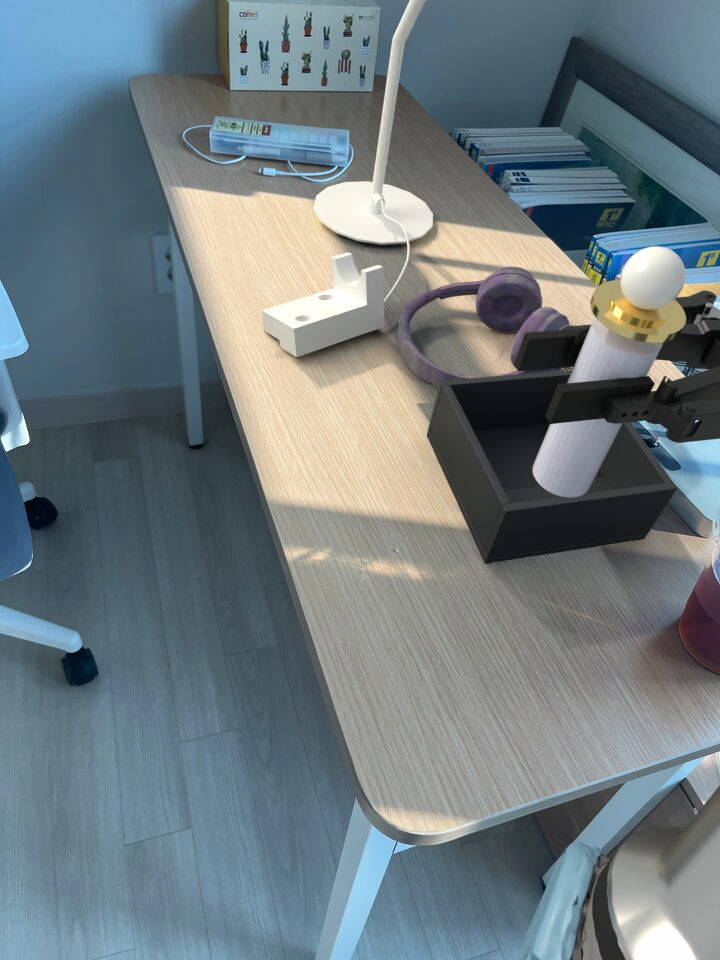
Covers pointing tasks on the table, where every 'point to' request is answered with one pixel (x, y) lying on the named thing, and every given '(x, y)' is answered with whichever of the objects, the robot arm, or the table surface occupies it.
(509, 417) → the bin
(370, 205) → the desk lamp
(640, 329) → the perfume bottle
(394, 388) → the table surface
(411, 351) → the headphones
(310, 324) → the bracket
